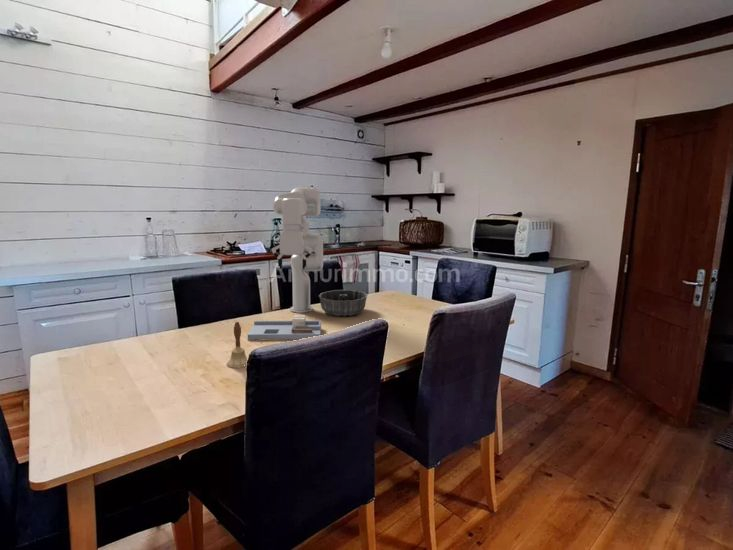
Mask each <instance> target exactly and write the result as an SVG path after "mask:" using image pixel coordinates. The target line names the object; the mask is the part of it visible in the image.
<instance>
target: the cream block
mask: <svg viewBox="0 0 733 550" xmlns="http://www.w3.org/2000/svg"><path fill="white" fill-rule="evenodd" d="M291 321H292V328H293V326H305V325H306V321H307V320H306V315H297V314H296V315H293V316H292V320H291Z"/></svg>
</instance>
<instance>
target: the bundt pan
mask: <svg viewBox="0 0 733 550" xmlns="http://www.w3.org/2000/svg"><path fill="white" fill-rule="evenodd" d="M318 297H319V302H320V307H321V310H323V311H324V313H326V314H328V315H330V316H336V317H341V316H343V317H346V316H353V315H354V316H356V315H358V314H360V313H362V312H363V311H364V309H365V307H366V304H367V298H368V294H366V292H363V291H360V290H354V289H353V290H352V289H334V290H329V291H325V292H321V293H320V294H319V295H318Z"/></svg>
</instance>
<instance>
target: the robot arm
mask: <svg viewBox="0 0 733 550" xmlns="http://www.w3.org/2000/svg"><path fill="white" fill-rule="evenodd" d="M272 206H273V207H272V209H273V212H274V214H275V215H277V216H282V230H281V231H280V236H279V237H280V238H279V244H278V245H276V246H274V247H272V248H271V250H270V251H271V253H272V254H273V256H274V257H275V258H276V259H277V264H278V265H277V266H278V267H279V269H280V270H281V269H282V268H283V256H291V257H290V268H291V278H292V306H290V308H289V310H290V312H293V313H299V314H302V313H304V314H305V313H310V312H313V310H314V307H313V306H312V305H311V279H310V276H309V275H308V273H307V272H320V271H322V270H323V267H324V240H323V237H322V235H321V234H320V233H314V232H313V233H310V223H309V222H308V219H306V218H307V217H308V218H310V217H311V218H315V217H319V216H320V215H321V206H322V205H321V196H320V193H319V191H318V189H316V188H315V187H295V188H293V189H292V190H291V191H290V192H286V193H282V194H280V195H277V196H276V197H275V199H274V201H273V205H272ZM278 249H279V253H280V254H279V253H277V250H278ZM305 252H307V253H305ZM313 252H314V253H313Z"/></svg>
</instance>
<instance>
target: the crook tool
mask: <svg viewBox="0 0 733 550" xmlns="http://www.w3.org/2000/svg"><path fill="white" fill-rule="evenodd" d="M292 333H312V329H295V328H292Z"/></svg>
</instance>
